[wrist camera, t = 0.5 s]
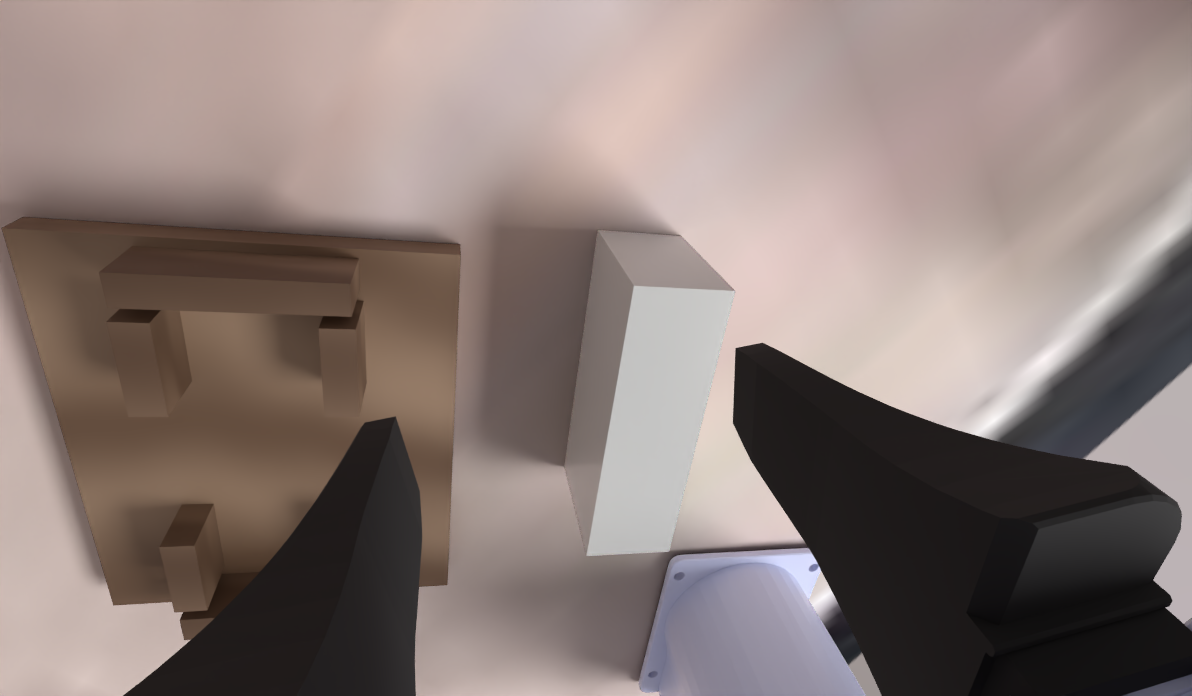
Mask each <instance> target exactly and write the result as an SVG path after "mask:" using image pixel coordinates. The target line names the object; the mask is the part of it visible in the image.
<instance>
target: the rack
mask: <svg viewBox="0 0 1192 696" xmlns="http://www.w3.org/2000/svg"><path fill="white" fill-rule="evenodd" d="M2 231H3V235H4V238H5V241H6V245H7V248H8V251H9V255H10V258H11V261H12V265H13V268H14V272H15V275H16V278H17V282H18V285H19V288H20V292H21V295H22V299H23V302H24V305H25V309H26V312H27V315H28V319H29V322H30V326H31V329H32V332H33V336H34V339H35V342H36V346H37V349H38V353H39V356H40V359H41V363H42V366H43V369H44V373H45V376H46V379H47V383H48V386H49V390H50V393H51V396H52V400H53V403H54V406H55V410H56V413H57V417H58V420H59V423H60V427H61V430H62V433H63V437H64V440H65V444H66V447H67V450H68V454H69V457H70V460H71V464H72V467H73V471H74V474H75V477H76V481H77V484H78V487H79V491H80V494H81V497H82V501H83V504H84V508H85V511H86V514H87V518H88V521H89V524H90V528H91V531H92V535H93V538H94V541H95V545H96V548H97V551H98V555H99V558H100V562H101V565H102V568H103V572H104V575H105V578H106V582H107V585H108V589H109V592H110V595H111V599H112V602H113V605H127V604H144V603H160V602H172V604H173V608H174V612H183V614H182V616H181V619H180V623H181V628H182V632H183V636H184V640H190V639H193V638H194V637H195V636H196V635H197V634H198V633H199V632H200V631H201V630H203V629H204V628H205V627H206V626H207V625H208V624H209V623H210V622H211V621H212V620H213V619H214V618H215V617H216V616H217V615H218V614H219V613H220V612H221V611H222V610H223V609H224V608H225V607H226V606H227V605H228V604H229V603H230V602H231V601H232V600H233V599H234V598H235V597H236V596H237V595H238V594H239V593H240V592H241V591H242V590H243V589H244V588H245V587H246V586H247V585H248V584H249V583H250V582H251V581H252V580H253V579H254V578H255V577H256V576H257V575H258V574H259V572H260V571H261V570H262V569H263V568H264V567H265V566H266V564H267V563H268V562H269V561H270V560H271V559H272V558H273V556H274V555H275V554H276V553H277V552H278V550H279V549H280V548H281V547H282V545H283V544H284V543H285V542H286V540H287V539H288V538H289V537H290V535H291V534H292V533H293V531H294V530H295V528H296V527H297V526H298V524H299V523H300V522H301V520H302V519H303V517H304V516H305V515H306V513H307V512H308V511H309V509H310V508H311V506H312V505H313V504H314V502H315V501H316V499H317V498H318V496H319V495H320V493H321V492H322V490H323V489H324V487H325V485H326V484H327V482H328V481H329V479H330V478H331V476H332V475H333V473H334V472H335V470H336V468H337V467H338V465H339V463H340V462H341V460H342V458H343V457H344V455H345V453H346V452H347V450H348V448H349V447H350V445H351V443H352V442H353V440H354V438H355V436H356V435H357V433H358V431H359V430H360V428H361V427H362V425H363V424H364V423H365V422H370V421H375V420H380V419H385V418H390V417H395V416H396V419H397V422H398V425H399V428H400V431H401V434H402V437H403V440H404V443H405V447H406V450H407V453H408V456H409V459H410V462H411V465H412V468H413V471H414V474H415V477H416V481H417V484H418V487H419V490H420V501H421V517H422V550H421V565H420V579H419V587H423V586H439V585H447V580H448V556H449V531H450V506H451V481H452V457H453V432H454V407H455V382H456V358H457V333H458V308H459V283H460V259H461V252H460V244H444V243H429V242H413V241H397V240H381V239H365V238H349V237H333V236H317V235H301V234H285V233H269V232H253V231H237V230H221V229H205V228H189V227H173V226H158V225H142V224H126V223H110V222H94V221H78V220H62V219H46V218H30V217H22V218H20V219H18V220H16V221H14V222H13V223H11V224H9V225H7V226H5V227H3V228H2Z"/></svg>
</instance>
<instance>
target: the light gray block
mask: <svg viewBox="0 0 1192 696" xmlns="http://www.w3.org/2000/svg"><path fill="white" fill-rule="evenodd" d="M734 294H735V290H734V289H733V288H732V287H731V286H730V285H729V284H728V283H727V282H726V281H725V280H724V279H723V278H722V277H721V276H720V275H719V274H718V273H717V272H716V271H715V270H714V269H713V268H712V267H711V266H710V265H709V264H708V263H707V262H706V261H705V260H704V259H703V258H702V257H701V255H700V254H699V253H698V252H697V251H696V250H695V249H694V248H693V247H692V246H691V245H690V244H689V243H688V242H687V241H686V240H685V239H684V238H683V237H682V236H675V235H662V234H648V233H634V232H620V231H607V230H598V231H597V238H596V246H595V253H594V260H593V267H592V274H591V281H590V288H589V295H588V302H587V309H586V316H585V323H584V330H583V337H582V344H581V351H580V358H579V365H578V373H577V380H576V387H575V394H574V401H573V408H572V415H571V422H570V429H569V436H568V443H567V450H566V457H565V464H564V468H565V472H566V476H567V480H568V484H569V488H570V492H571V496H572V500H573V504H574V508H575V512H576V516H577V520H578V524H579V528H580V532H581V536H582V540H583V544H584V548H585V552H586V556H598V555H617V554H635V553H654V552H669V550H670V546H671V542H672V538H673V534H674V531H675V527H676V523H677V519H678V515H679V511H680V507H681V503H682V499H683V495H684V491H685V487H686V483H687V479H688V475H689V471H690V468H691V464H692V460H693V456H694V452H695V448H696V444H697V440H698V436H699V432H700V428H701V424H702V420H703V416H704V412H705V409H706V405H707V401H708V397H709V393H710V389H711V385H712V381H713V377H714V373H715V369H716V365H717V361H718V357H719V353H720V349H721V346H722V342H723V338H724V334H725V330H726V326H727V322H728V318H729V314H730V310H731V306H732V302H733V298H734Z"/></svg>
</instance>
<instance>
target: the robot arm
mask: <svg viewBox="0 0 1192 696" xmlns="http://www.w3.org/2000/svg"><path fill="white" fill-rule="evenodd" d="M733 424H734V426H735V428H736V430H737V432H738V435H739V437H740V439H741V441H742V443H743V445H744V447H745V449H746V451H747V453H748V455H749V457H750V459H751V461H752V463H753V464H754V466H755V468H756V469H757V471H758V472H759V474H760V475H761V477H762V478H763V480H764V481H765V483H766V484H767V486H768V487H769V489H770V490H771V492H772V493H773V495H774V496H775V498H776V499H777V501H778V502H779V504H780V505H781V507H782V508H783V510H784V511H785V513H786V514H787V516H788V517H789V519H790V520H791V522H792V523H793V525H794V526H795V528H796V529H797V531H798V532H799V534H800V535H801V537H802V538H803V540H804V541H805V543H806V545H807V546H808V548H796V549H777V550H759V551H741V552H723V553H704V554H686V555H677V556H675V557H673V558H672V559H671V560H670V562H669V565H668V569H667V572H666V576H665V580H664V584H663V588H662V592H661V596H660V600H659V604H658V608H657V612H656V616H655V620H654V624H653V627H652V631H651V635H650V639H649V643H648V647H647V651H646V655H645V659H644V663H643V667H642V671H641V675H640V679H639V687H640V690H641V691H643V692H646V693H648V692H658V691H659V694H660V696H866V695H865V693H864V691H863V690H862V688H861V686H860V685H859V683H858V682H857V680H856V678H855V676H854V675H853V673H852V671H851V670H850V668H849V666H848V665H847V663H846V661H845V660H844V658H843V656H842V655H841V653H840V651H839V650H838V648H837V646H836V645H835V643H834V641H833V640H832V638H831V636H830V635H829V633H828V631H827V630H826V628H825V626H824V624H823V623H822V621H821V619H820V618H819V616H818V614H817V613H816V611H815V609H814V608H813V606H812V604H811V603H810V601H809V598H810V595H811V593H812V590H813V588H814V585H815V583H816V580H817V578H818V576H819V573H820V571H822V573H823V575H824V577H825V579H826V580H827V582H828V584H829V586H830V588H831V590H832V592H833V594H834V596H835V598H836V600H837V602H838V604H839V606H840V608H841V610H842V612H843V614H844V616H845V618H846V620H847V622H848V624H849V626H850V628H851V630H852V632H853V634H854V636H855V638H856V640H857V642H858V645H859V647H860V649H861V651H862V653H863V655H864V657H865V660H866V662H867V664H868V666H869V668H870V671H871V673H872V675H873V677H874V679H875V681H876V684H877V686H878V688H879V690H880V692H881V694H882V696H1192V618H1191V619H1189V620H1188V621H1187V622H1186V623H1185V624H1183V623H1182V622H1181V621H1180V620H1179V619H1177V618H1176V617H1175V616H1174V615H1173V614H1172V613H1171V612H1169V611H1168V610H1167V609H1166V608H1165V607H1168V606H1170V604H1171V602H1172V599H1171V596H1170V595H1169V594H1168V593H1167V592H1166V591H1165V590H1164V589H1162V588H1161V587H1160V586H1159V585H1158V584H1157V583H1155V582H1154V581H1153V579H1154V577H1155V575H1156V574H1157V572H1158V570H1159V569H1160V567H1161V565H1162V563H1163V562H1164V560H1165V558H1166V556H1167V555H1168V553H1169V551H1170V550H1171V548H1172V546H1173V545H1174V543H1175V541H1176V538H1177V536H1178V534H1179V532H1180V529H1181V517H1182V516H1181V515H1182V514H1181V510H1180V508H1179V506H1178V503H1177V502H1176V501H1175V500H1173V499H1172V498H1171V497H1169V496H1168V495H1167V494H1165V493H1164V492H1162V491H1161V490H1159V489H1158V488H1157V487H1156V486H1154V485H1153V484H1152V483H1150V482H1149V481H1148V480H1146V479H1145V478H1143V477H1142V476H1141V475H1139V474H1138V473H1137V472H1135V471H1134V470H1132V469H1131V468H1130V467H1128V466H1123V465H1117V464H1111V463H1104V462H1097V461H1092V460H1085V459H1079V458H1072V457H1066V456H1060V455H1055V454H1050V453H1046V452H1041V451H1036V450H1031V449H1027V448H1022V447H1017V446H1013V445H1009V444H1005V443H1001V442H997V441H993V440H989V439H986V438H982V437H979V436H975V435H972V434H969V433H965V432H962V431H958V430H955V429H952V428H949V427H945V426H942V425H939V424H936V423H934V422H931V421H928V420H925V419H923V418H920V417H917V416H914V415H912V414H909V413H906V412H904V411H901V410H899V409H896V408H894V407H891V406H889V405H887V404H884V403H882V402H880V401H878V400H875V399H873V398H871V397H869V396H866V395H864V394H862V393H860V392H858V391H856V390H854V389H851V388H849V387H847V386H845V385H843V384H841V383H839V382H837V381H835V380H833V379H831V378H829V377H827V376H826V375H824V374H822V373H820V372H818V371H816V370H814V369H812V368H810V367H808V366H807V365H805V364H803V363H801V362H799V361H797V360H795V359H793V358H792V357H790V356H788V355H786V354H784V353H782V352H780V351H778V350H776V349H774V348H772V347H770V346H768V345H766V344H764V343H759V344H754V345H749V346H744V347H739V348H736V354H735V381H734V409H733ZM421 550H422V517H421V501H420V490H419V487H418V484H417V481H416V477H415V474H414V471H413V468H412V465H411V462H410V459H409V456H408V453H407V450H406V447H405V443H404V440H403V437H402V434H401V431H400V428H399V425H398V422H397V419H396V416H395V417H390V418H385V419H380V420H375V421H370V422H365V423H364V424H363V425H362V427H361V428H360V430H359V431H358V433H357V435H356V436H355V438H354V440H353V442H352V443H351V445H350V447H349V448H348V450H347V452H346V453H345V455H344V457H343V458H342V460H341V462H340V463H339V465H338V467H337V468H336V470H335V472H334V473H333V475H332V476H331V478H330V479H329V481H328V482H327V484H326V485H325V487H324V489H323V490H322V492H321V493H320V495H319V496H318V498H317V499H316V501H315V502H314V504H313V505H312V506H311V508H310V509H309V511H308V512H307V513H306V515H305V516H304V517H303V519H302V520H301V522H300V523H299V524H298V526H297V527H296V528H295V530H294V531H293V533H292V534H291V535H290V537H289V538H288V539H287V540H286V542H285V543H284V544H283V545H282V547H281V548H280V549H279V550H278V552H277V553H276V554H275V555H274V556H273V558H272V559H271V560H270V561H269V562H268V563H267V564H266V566H265V567H264V568H263V569H262V570H261V571H260V572H259V574H258V575H257V576H256V577H255V578H254V579H253V580H252V581H251V582H250V583H249V584H248V585H247V586H246V587H245V588H244V589H243V590H242V591H241V592H240V593H239V594H238V595H237V596H236V597H235V598H234V599H233V600H232V601H231V602H230V603H229V604H228V605H227V606H226V607H225V608H224V609H223V610H222V611H221V612H220V613H219V614H218V615H217V616H216V617H215V618H214V619H213V620H212V621H211V622H210V623H209V624H208V625H207V626H206V627H205V628H204V629H203V630H201V631H200V632H199V633H198V634H197V635H196V636H195V637H194V638H193V639H191V640H190V641H189V642H188V643H187V644H186V645H185V646H184V647H182V648H181V649H180V650H179V651H178V652H177V653H175V654H174V655H173V656H172V657H171V658H169V659H168V660H167V661H166V662H165V663H164V664H162V665H161V666H160V667H159V668H158V669H156V670H155V671H154V672H153V673H152V674H150V675H149V676H148V677H147V678H145V679H144V680H143V681H142V682H140V683H139V684H138V685H136V686H135V687H134V688H132V689H131V690H130V691H129V692H127V693H126V694H125V695H123V696H416V692H415V633H416V619H417V606H418V592H419V579H420V565H421Z"/></svg>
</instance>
